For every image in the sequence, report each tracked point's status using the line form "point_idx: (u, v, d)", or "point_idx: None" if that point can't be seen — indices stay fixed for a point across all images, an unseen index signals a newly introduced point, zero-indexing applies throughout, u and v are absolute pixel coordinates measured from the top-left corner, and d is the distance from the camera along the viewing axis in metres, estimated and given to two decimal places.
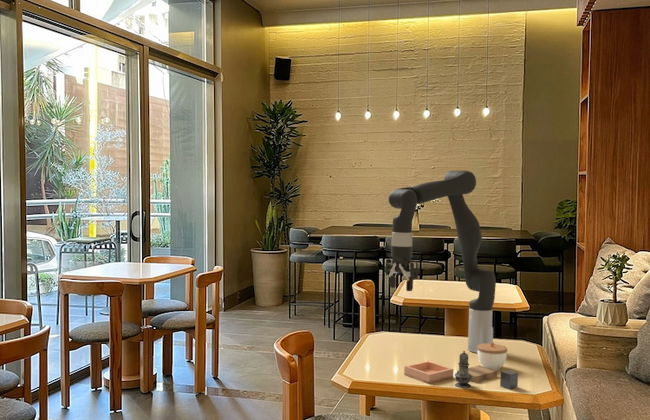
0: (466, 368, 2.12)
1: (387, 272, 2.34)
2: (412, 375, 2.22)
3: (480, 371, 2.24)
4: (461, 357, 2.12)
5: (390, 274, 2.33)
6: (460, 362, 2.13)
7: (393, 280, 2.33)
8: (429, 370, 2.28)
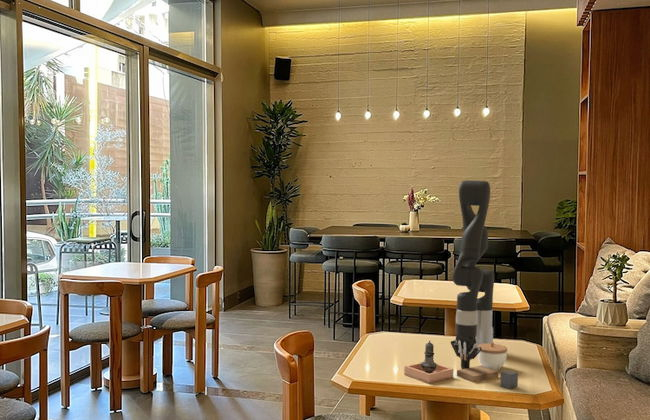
0: (427, 357, 2.22)
1: (458, 354, 2.29)
2: (412, 375, 2.22)
3: (480, 371, 2.23)
4: (425, 346, 2.24)
5: (461, 356, 2.28)
6: None
7: None
8: None
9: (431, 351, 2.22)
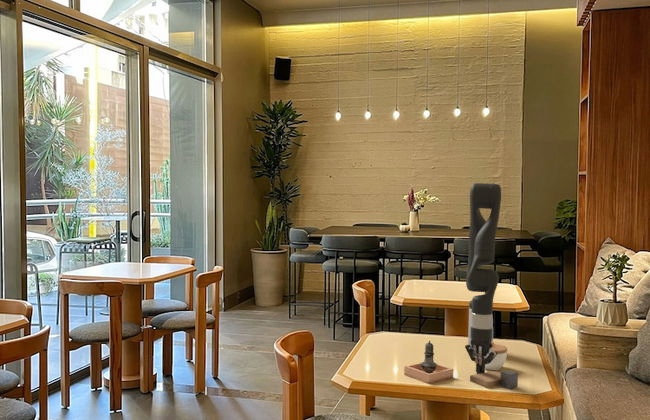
0: (427, 357, 2.22)
1: (473, 358, 2.24)
2: (412, 375, 2.22)
3: (494, 376, 2.18)
4: None
5: (476, 360, 2.23)
6: None
7: None
8: None
9: (431, 351, 2.22)
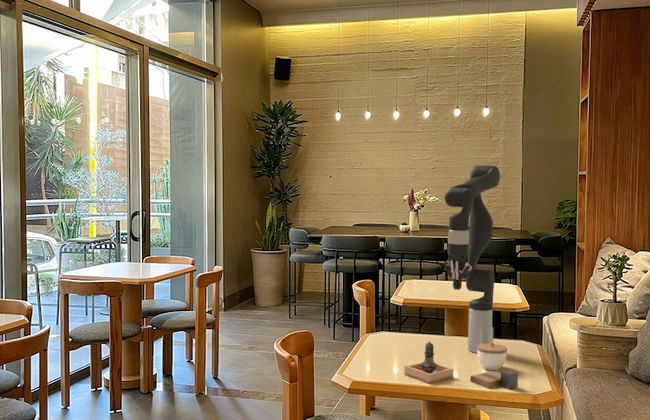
0: (427, 357, 2.22)
1: (450, 274, 2.34)
2: (412, 375, 2.22)
3: (494, 376, 2.18)
4: None
5: (453, 275, 2.33)
6: None
7: None
8: None
9: (431, 351, 2.22)
